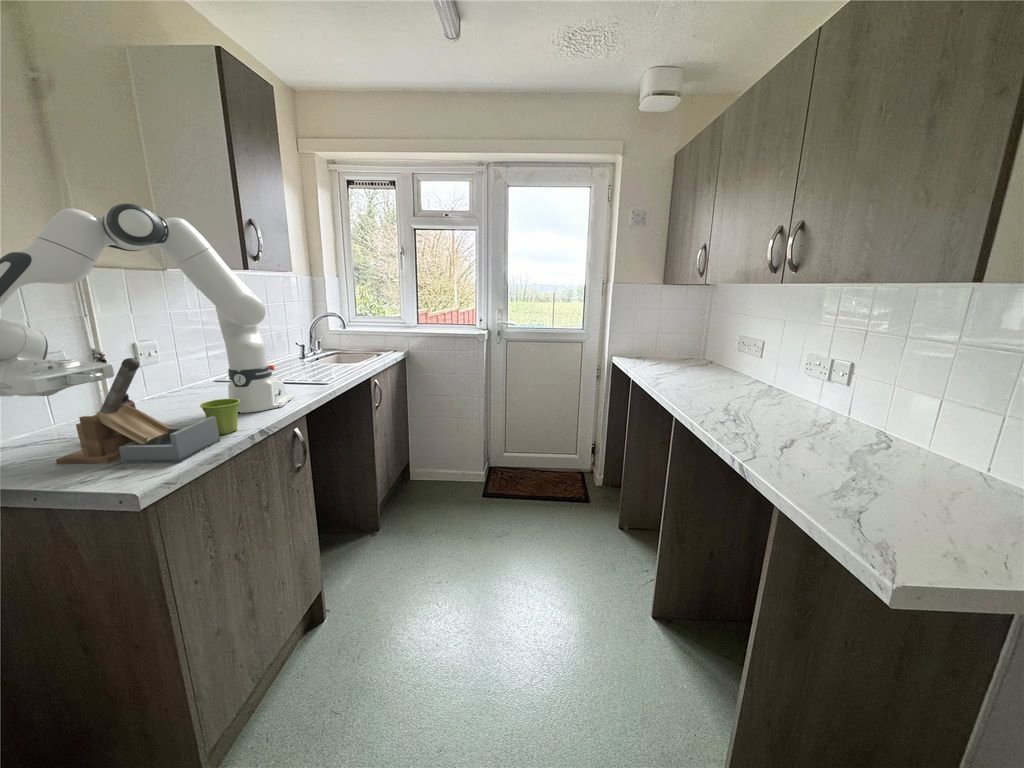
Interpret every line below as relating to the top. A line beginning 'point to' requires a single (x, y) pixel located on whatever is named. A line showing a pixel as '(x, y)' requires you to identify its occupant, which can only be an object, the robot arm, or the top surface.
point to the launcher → (128, 410)
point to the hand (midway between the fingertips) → (97, 377)
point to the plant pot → (223, 413)
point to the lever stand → (96, 443)
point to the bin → (173, 444)
